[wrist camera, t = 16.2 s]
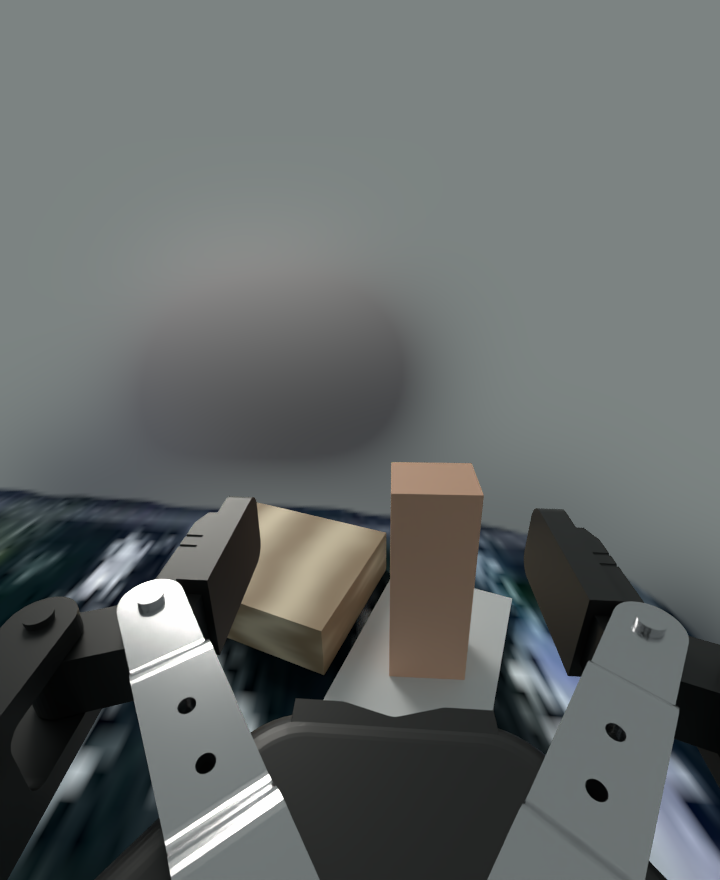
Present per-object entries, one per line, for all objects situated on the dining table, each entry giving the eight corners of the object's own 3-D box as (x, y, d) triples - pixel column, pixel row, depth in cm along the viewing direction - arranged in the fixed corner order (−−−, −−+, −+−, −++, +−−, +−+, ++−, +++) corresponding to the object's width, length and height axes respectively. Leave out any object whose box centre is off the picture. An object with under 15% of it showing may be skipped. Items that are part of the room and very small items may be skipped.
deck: (170, 615, 36) (161, 576, 34) (259, 535, 46) (255, 502, 44) (324, 675, 30) (321, 631, 29) (385, 569, 41) (386, 532, 39)
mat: (307, 734, 27) (307, 728, 26) (396, 572, 40) (396, 567, 40) (475, 810, 23) (476, 804, 23) (511, 603, 36) (511, 598, 36)
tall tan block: (389, 676, 30) (391, 493, 24) (389, 629, 33) (391, 462, 28) (464, 679, 29) (483, 495, 24) (456, 632, 33) (471, 463, 28)
